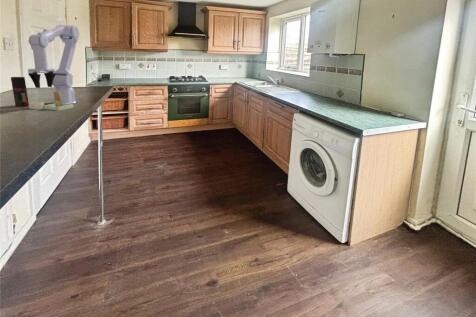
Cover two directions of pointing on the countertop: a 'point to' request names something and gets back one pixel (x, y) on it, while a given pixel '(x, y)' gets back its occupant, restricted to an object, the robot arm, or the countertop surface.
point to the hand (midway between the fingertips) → (43, 87)
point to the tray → (53, 107)
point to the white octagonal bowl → (36, 105)
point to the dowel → (57, 99)
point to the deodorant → (19, 91)
